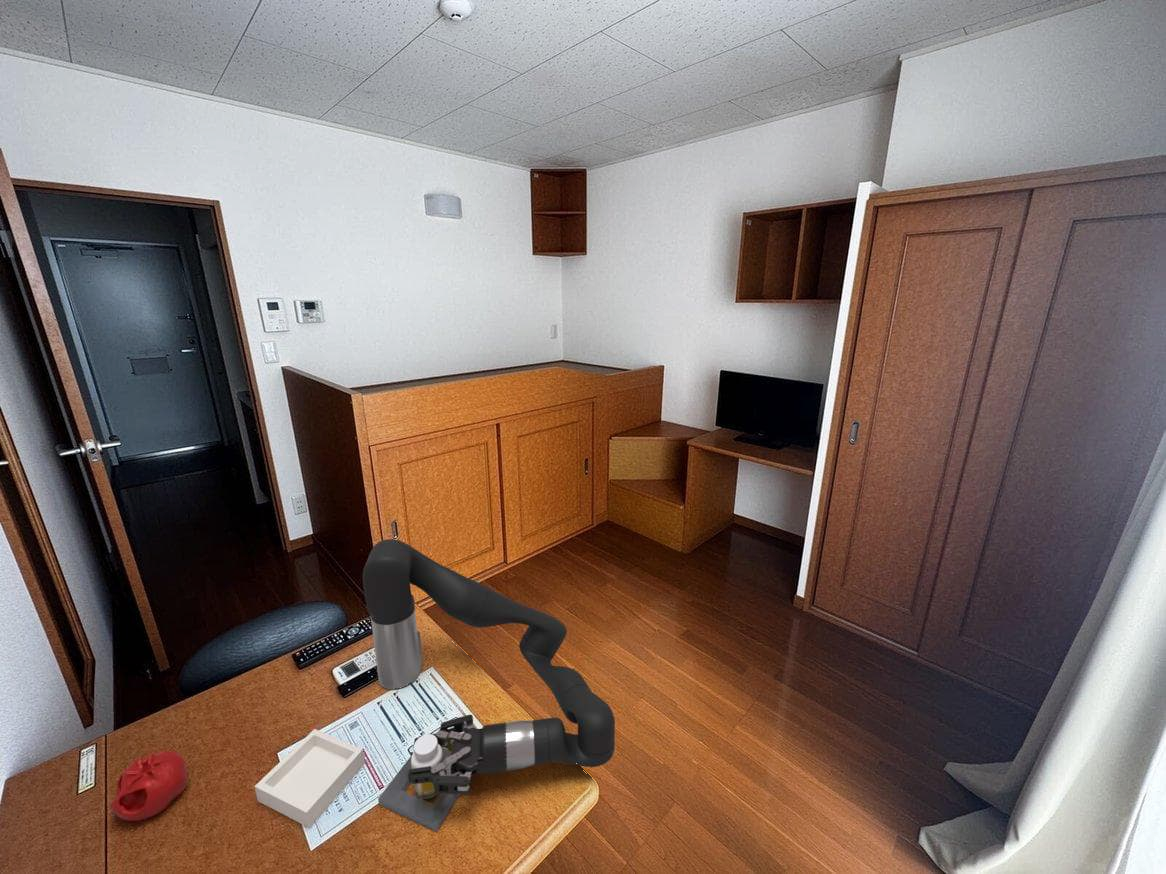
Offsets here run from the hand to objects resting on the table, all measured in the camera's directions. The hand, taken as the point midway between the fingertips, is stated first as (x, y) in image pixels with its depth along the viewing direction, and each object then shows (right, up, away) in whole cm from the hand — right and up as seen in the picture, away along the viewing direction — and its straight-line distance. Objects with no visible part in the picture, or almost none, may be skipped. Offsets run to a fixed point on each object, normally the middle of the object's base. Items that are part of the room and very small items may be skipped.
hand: (412, 759), depth 82 cm
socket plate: (+2, -6, +2) cm, 7 cm away
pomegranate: (-45, -6, -1) cm, 45 cm away
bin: (-19, -6, +2) cm, 20 cm away
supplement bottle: (+2, -6, +2) cm, 7 cm away
